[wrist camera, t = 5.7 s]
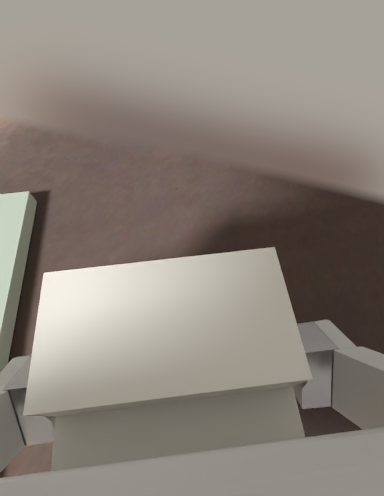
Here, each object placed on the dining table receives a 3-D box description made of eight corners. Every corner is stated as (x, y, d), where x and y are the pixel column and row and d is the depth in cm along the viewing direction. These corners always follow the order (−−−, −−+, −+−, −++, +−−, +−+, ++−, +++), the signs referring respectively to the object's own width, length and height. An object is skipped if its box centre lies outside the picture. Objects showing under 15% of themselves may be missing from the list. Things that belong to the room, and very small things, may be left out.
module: (260, 442, 12) (339, 473, 5) (120, 461, 12) (7, 519, 5) (238, 326, 14) (272, 239, 7) (121, 340, 14) (44, 265, 7)
